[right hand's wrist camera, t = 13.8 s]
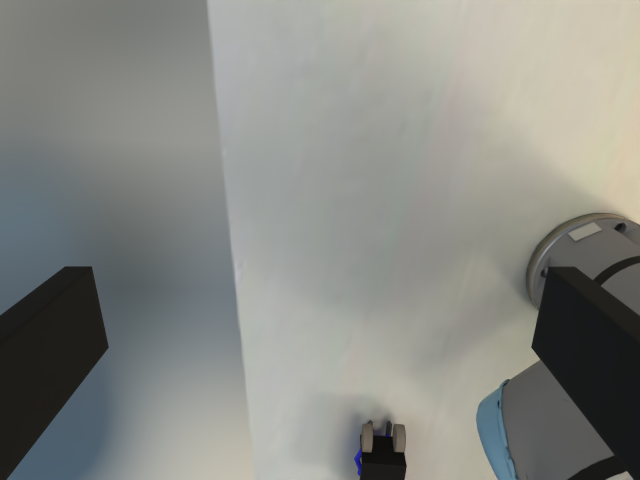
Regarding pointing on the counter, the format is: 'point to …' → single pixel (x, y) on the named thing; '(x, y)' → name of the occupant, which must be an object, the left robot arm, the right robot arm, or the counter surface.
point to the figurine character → (382, 453)
